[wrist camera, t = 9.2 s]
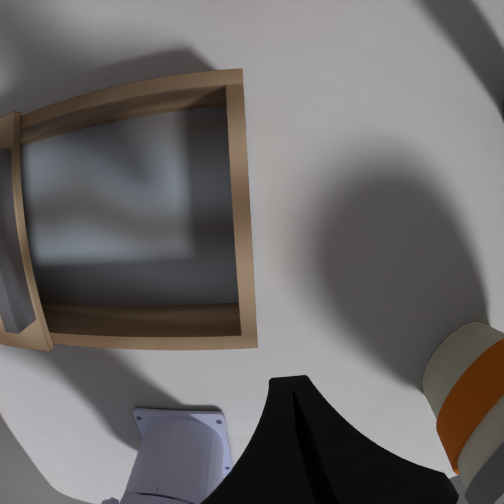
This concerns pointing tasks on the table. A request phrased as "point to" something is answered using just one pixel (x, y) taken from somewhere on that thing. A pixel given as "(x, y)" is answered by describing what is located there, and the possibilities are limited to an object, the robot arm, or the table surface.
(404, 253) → the table surface
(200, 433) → the robot arm
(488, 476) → the reusable coffee cup
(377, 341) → the table surface
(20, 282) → the lid
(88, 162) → the box
